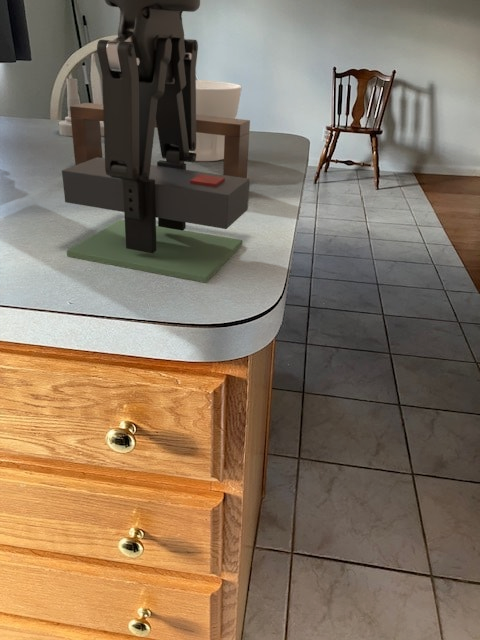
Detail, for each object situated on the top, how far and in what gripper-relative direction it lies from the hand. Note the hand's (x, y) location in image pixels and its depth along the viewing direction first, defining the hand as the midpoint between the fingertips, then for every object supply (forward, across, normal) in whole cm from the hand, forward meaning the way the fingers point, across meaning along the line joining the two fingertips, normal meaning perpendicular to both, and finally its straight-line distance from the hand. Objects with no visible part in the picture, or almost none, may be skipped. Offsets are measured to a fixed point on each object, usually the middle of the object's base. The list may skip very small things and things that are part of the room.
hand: (157, 237), depth 52 cm
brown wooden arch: (+1, +23, +11) cm, 25 cm away
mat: (+1, 0, 0) cm, 1 cm away
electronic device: (+2, +45, +33) cm, 56 cm away
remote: (-3, 0, 0) cm, 3 cm away
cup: (+2, +41, +12) cm, 43 cm away
